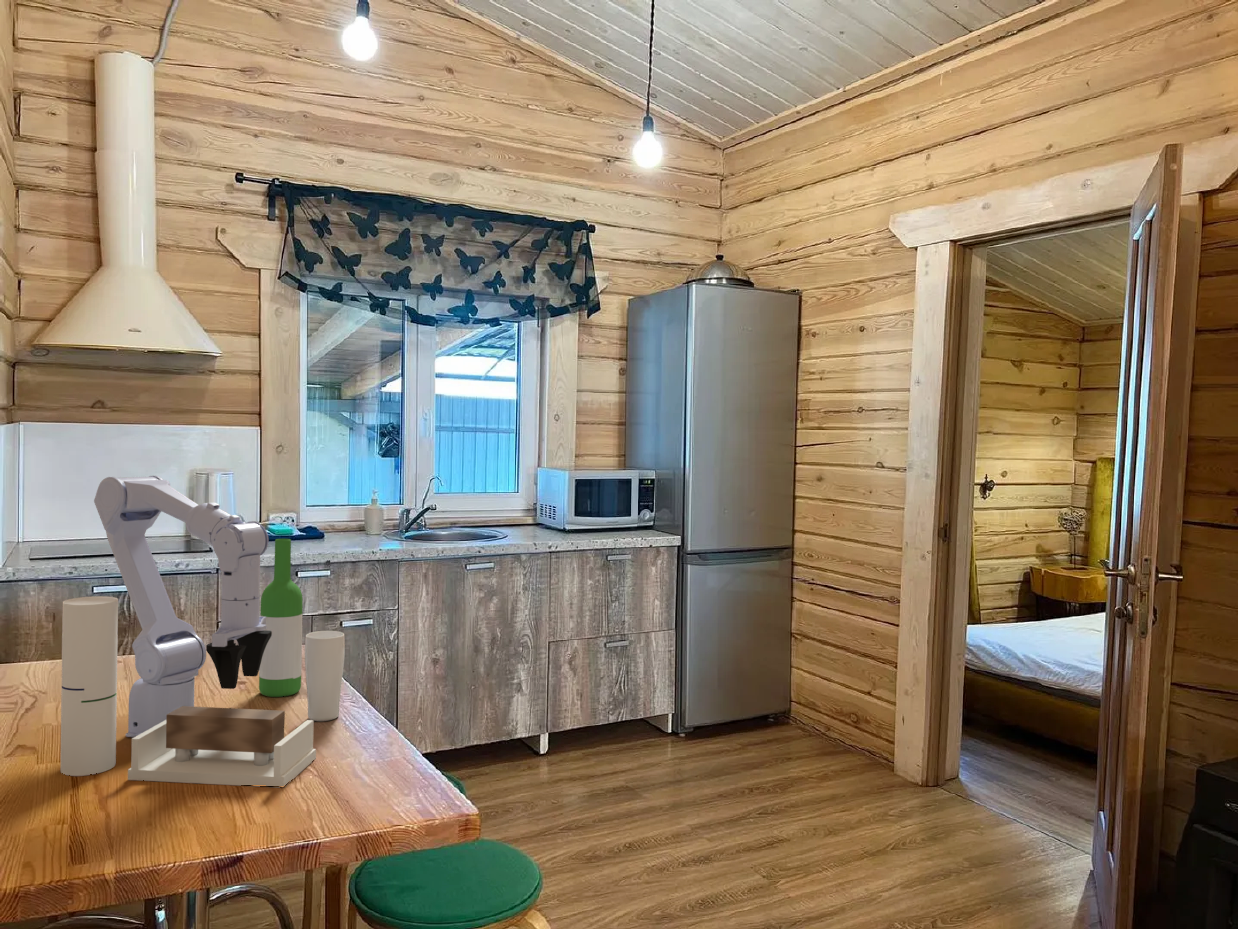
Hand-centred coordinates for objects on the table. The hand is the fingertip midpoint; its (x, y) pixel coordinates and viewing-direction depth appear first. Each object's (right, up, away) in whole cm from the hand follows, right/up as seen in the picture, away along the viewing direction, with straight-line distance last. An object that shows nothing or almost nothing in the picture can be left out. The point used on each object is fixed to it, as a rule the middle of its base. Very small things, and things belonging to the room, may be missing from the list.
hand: (239, 681), depth 147 cm
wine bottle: (-5, -10, +31) cm, 32 cm away
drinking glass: (+8, -10, +16) cm, 21 cm away
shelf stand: (+2, -11, -10) cm, 15 cm away
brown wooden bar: (+2, -7, -10) cm, 12 cm away
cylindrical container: (-18, -10, -11) cm, 24 cm away
